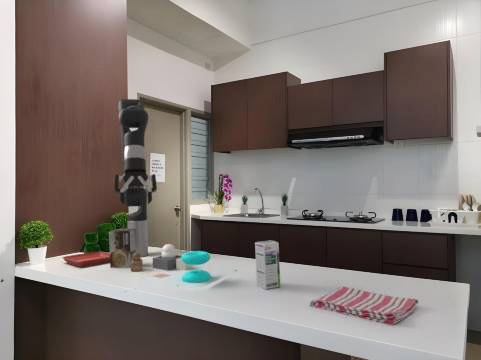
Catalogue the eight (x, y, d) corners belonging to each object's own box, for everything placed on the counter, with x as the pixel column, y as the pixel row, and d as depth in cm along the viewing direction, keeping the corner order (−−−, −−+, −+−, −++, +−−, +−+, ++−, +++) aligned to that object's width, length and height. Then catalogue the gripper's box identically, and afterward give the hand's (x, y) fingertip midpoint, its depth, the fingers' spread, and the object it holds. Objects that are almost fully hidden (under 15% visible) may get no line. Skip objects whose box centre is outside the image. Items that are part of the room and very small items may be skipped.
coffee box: (137, 266, 155) (136, 228, 155) (131, 270, 148) (130, 230, 149) (116, 266, 156) (115, 228, 156) (109, 270, 149) (108, 230, 149)
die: (176, 269, 143) (176, 258, 143) (182, 267, 146) (181, 256, 146) (185, 270, 141) (184, 259, 141) (190, 268, 145) (190, 257, 145)
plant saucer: (100, 257, 180) (100, 250, 180) (118, 262, 167) (118, 254, 167) (61, 264, 167) (61, 256, 167) (78, 269, 154) (77, 261, 154)
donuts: (209, 249, 134) (211, 254, 124) (209, 277, 133) (212, 284, 124) (181, 251, 132) (181, 256, 122) (182, 279, 132) (182, 287, 122)
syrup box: (265, 289, 116) (264, 243, 116) (256, 285, 121) (254, 241, 121) (280, 287, 118) (279, 241, 118) (270, 282, 124) (269, 239, 124)
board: (121, 275, 141) (120, 261, 141) (166, 264, 158) (166, 252, 158) (154, 282, 128) (153, 268, 128) (199, 269, 145) (199, 257, 145)
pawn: (128, 270, 143) (128, 253, 143) (138, 268, 146) (137, 251, 146) (135, 272, 140) (134, 254, 140) (145, 270, 143) (144, 252, 143)
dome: (158, 259, 147) (158, 244, 147) (169, 257, 152) (169, 242, 152) (167, 261, 144) (167, 245, 144) (178, 258, 148) (178, 243, 148)
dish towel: (396, 329, 84) (395, 313, 84) (308, 308, 99) (307, 295, 100) (420, 308, 96) (419, 295, 96) (338, 292, 112) (338, 281, 112)
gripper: (154, 163, 138) (156, 205, 134) (114, 163, 134) (114, 207, 129) (156, 156, 132) (158, 200, 127) (114, 156, 127) (114, 201, 123)
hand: (136, 203), depth 128 cm, fingers open, 8 cm apart
